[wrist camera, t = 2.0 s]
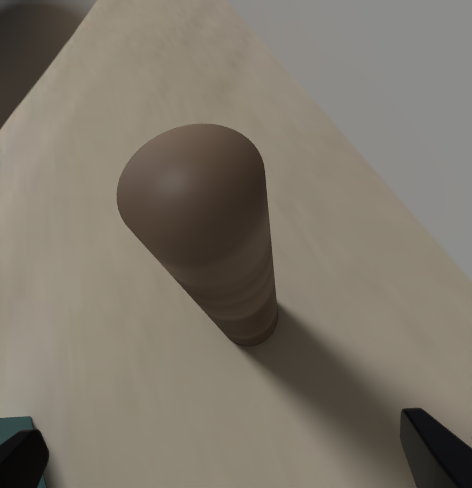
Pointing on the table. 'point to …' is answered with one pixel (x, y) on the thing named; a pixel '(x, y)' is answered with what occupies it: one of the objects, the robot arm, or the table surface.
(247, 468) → the table surface
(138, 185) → the peg
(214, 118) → the table surface
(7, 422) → the holder block
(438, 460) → the robot arm
